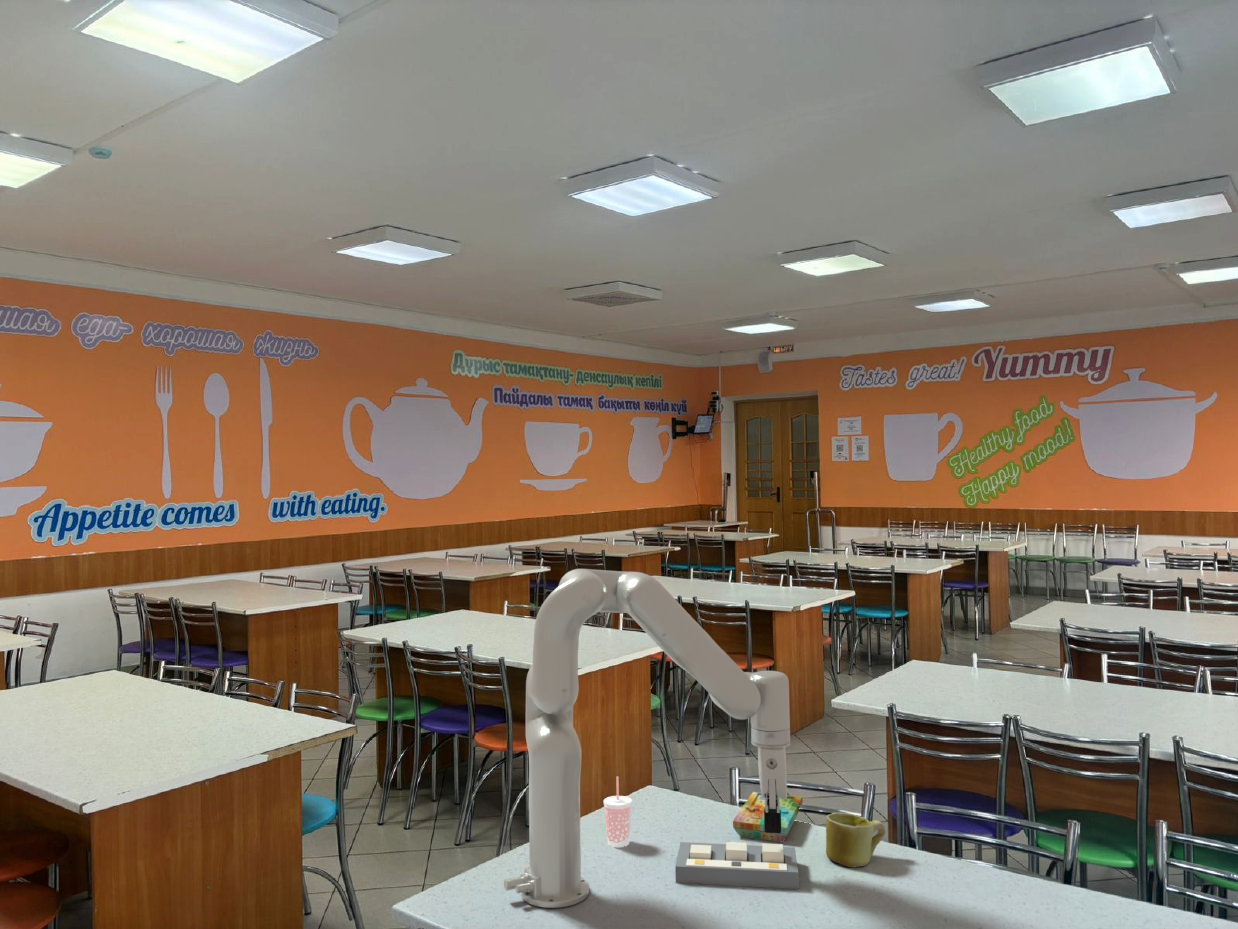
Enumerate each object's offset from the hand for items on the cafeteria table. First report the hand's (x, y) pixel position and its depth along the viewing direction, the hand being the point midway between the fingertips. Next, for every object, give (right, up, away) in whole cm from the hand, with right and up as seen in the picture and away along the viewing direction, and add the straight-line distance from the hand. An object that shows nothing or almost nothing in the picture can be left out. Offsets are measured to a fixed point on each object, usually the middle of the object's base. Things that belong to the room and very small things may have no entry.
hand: (772, 831), depth 169 cm
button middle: (-7, -6, +1) cm, 9 cm away
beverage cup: (-30, -10, +16) cm, 35 cm away
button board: (-7, -8, +1) cm, 11 cm away
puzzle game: (+4, -10, +26) cm, 28 cm away
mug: (+18, -9, +6) cm, 21 cm away
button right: (0, -6, 0) cm, 6 cm away
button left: (-14, -7, +2) cm, 16 cm away
